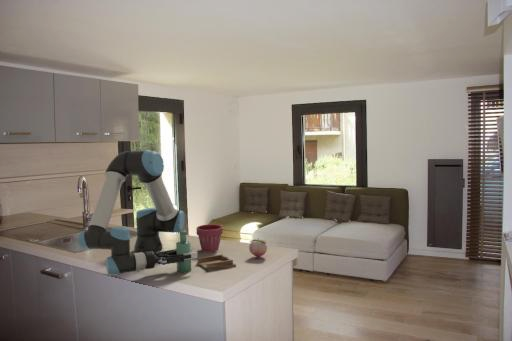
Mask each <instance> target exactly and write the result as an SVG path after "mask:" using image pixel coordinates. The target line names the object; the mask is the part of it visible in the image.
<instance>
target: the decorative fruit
mask: <svg viewBox="0 0 512 341" xmlns="http://www.w3.org/2000/svg"><path fill="white" fill-rule="evenodd" d="M248 249H249V252H250V253H251V254H252V255H253V256H255V257H257V258H260V257H263V256H264V255H265V254H266V253H267V250H268V245H267V241H265V240H263V239H251V240H250V241H249V246H248Z"/></svg>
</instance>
